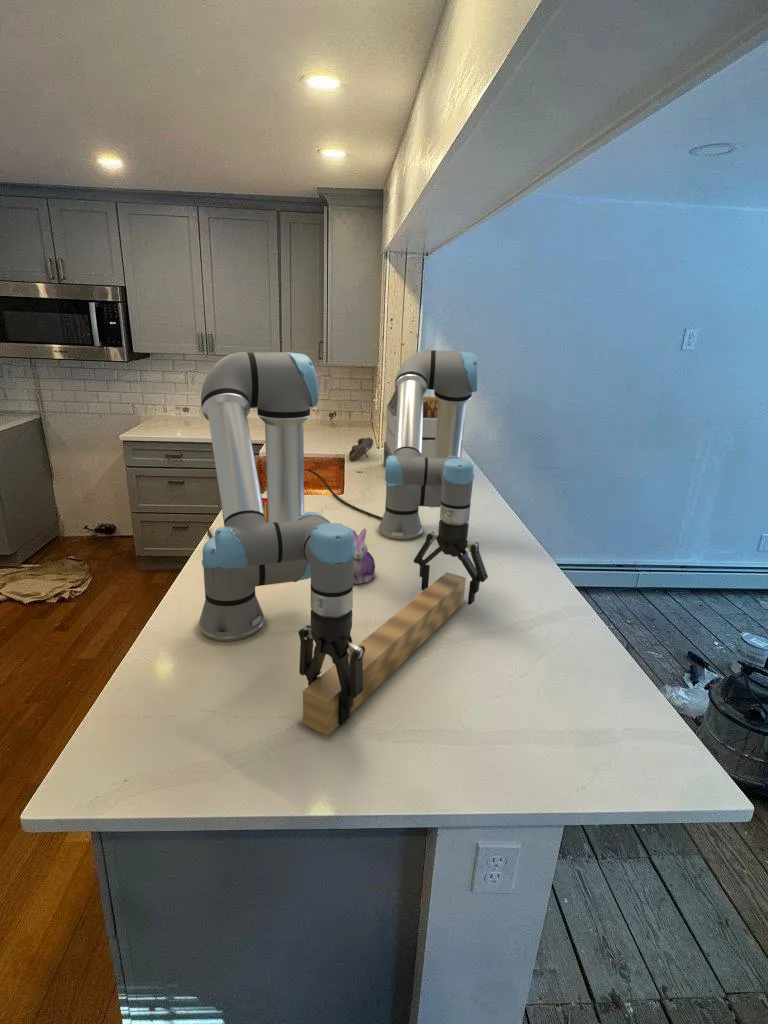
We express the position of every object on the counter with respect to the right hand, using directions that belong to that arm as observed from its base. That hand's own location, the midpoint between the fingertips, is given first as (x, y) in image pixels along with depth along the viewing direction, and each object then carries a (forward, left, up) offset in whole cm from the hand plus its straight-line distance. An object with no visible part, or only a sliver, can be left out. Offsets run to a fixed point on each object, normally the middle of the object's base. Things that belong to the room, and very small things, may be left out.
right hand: (447, 595), depth 151 cm
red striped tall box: (-79, -6, -4) cm, 79 cm away
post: (+8, -25, -4) cm, 26 cm away
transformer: (-99, +86, -4) cm, 131 cm away
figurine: (-27, -8, -4) cm, 28 cm away
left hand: (+16, -50, -3) cm, 52 cm away
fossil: (-138, +80, -4) cm, 160 cm away
